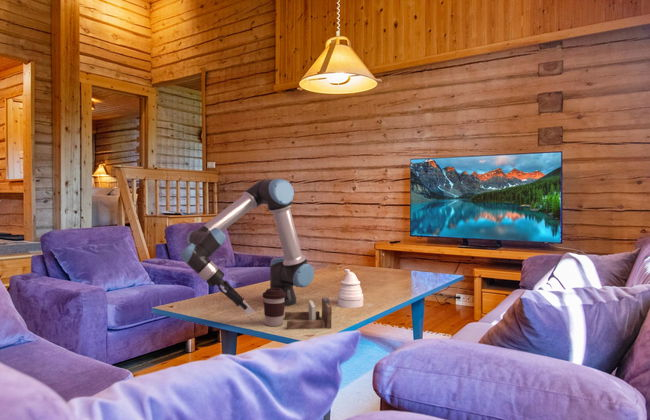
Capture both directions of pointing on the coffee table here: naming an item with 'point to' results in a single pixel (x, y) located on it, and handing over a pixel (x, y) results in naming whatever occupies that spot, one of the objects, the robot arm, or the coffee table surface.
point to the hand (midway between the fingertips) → (252, 313)
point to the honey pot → (350, 291)
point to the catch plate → (312, 310)
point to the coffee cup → (274, 306)
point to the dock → (305, 315)
